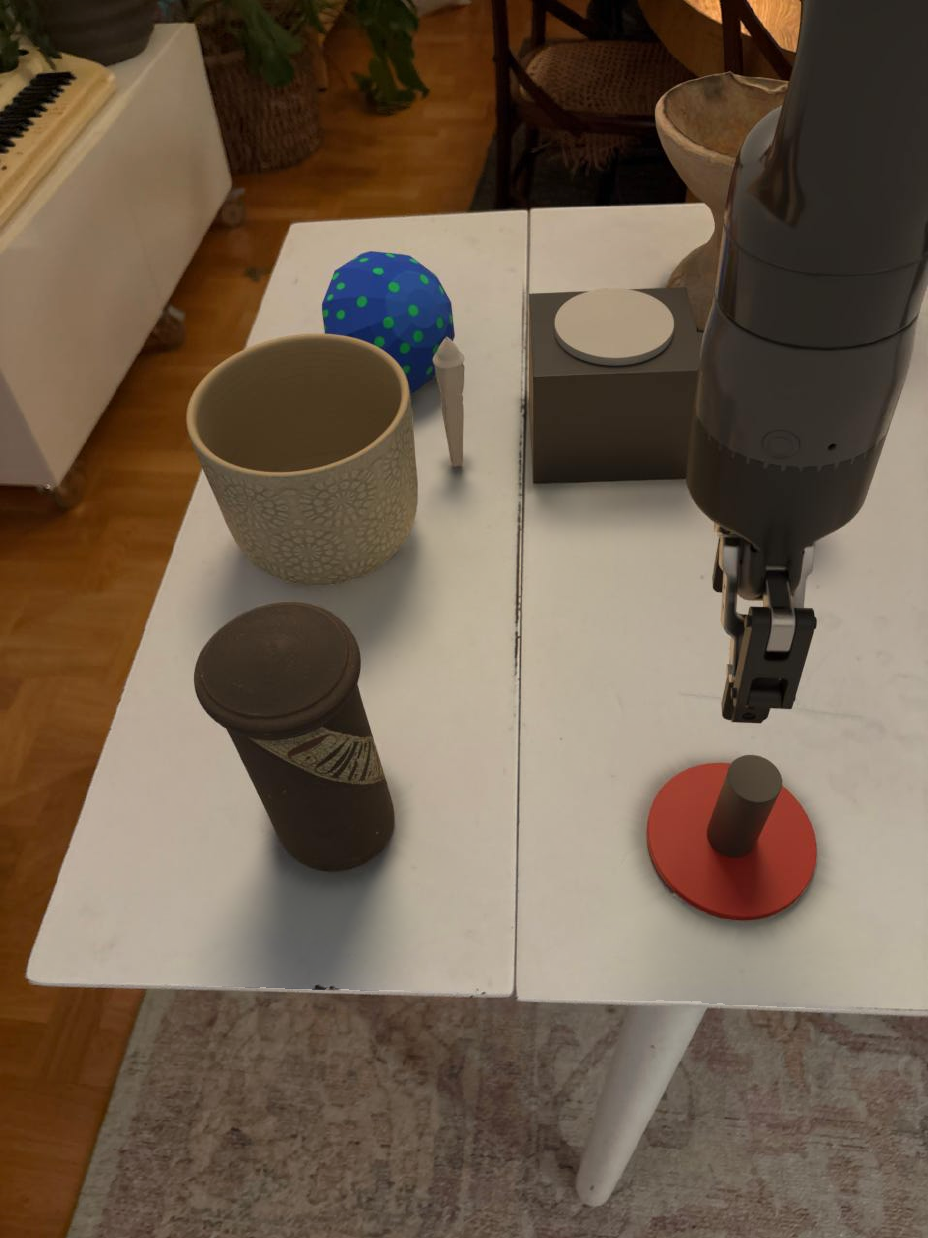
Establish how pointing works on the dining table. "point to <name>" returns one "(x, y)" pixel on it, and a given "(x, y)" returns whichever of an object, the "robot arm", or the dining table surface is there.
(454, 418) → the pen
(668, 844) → the lid
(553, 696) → the dining table surface
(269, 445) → the planter
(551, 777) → the dining table surface
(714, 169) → the bowl
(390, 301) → the polka dot ball
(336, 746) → the container
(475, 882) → the dining table surface
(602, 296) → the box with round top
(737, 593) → the robot arm
